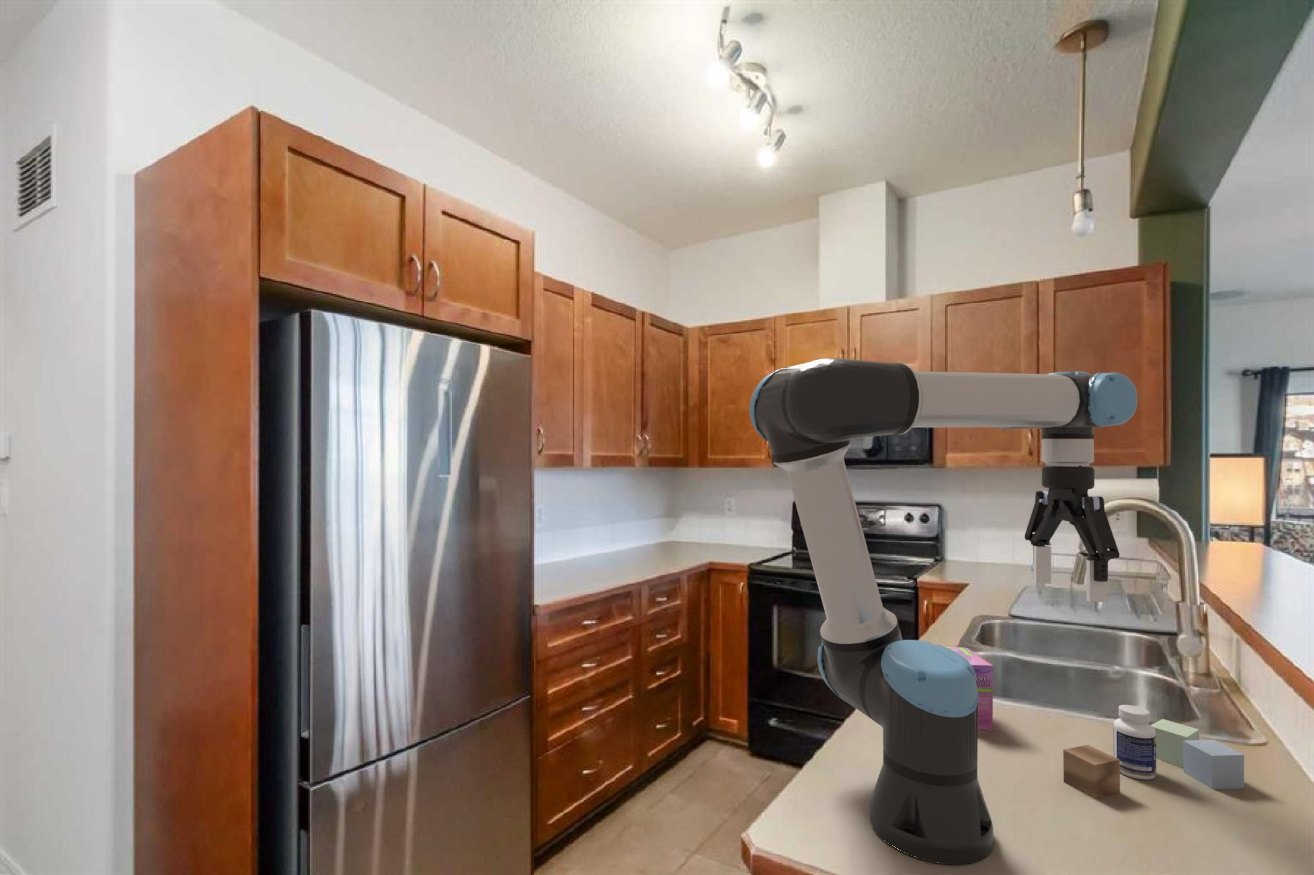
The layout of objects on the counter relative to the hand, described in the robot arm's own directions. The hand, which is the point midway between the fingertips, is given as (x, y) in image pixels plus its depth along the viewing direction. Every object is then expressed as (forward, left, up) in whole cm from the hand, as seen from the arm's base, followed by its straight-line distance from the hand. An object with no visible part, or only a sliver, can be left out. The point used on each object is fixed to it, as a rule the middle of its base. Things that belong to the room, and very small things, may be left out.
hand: (1067, 592), depth 110 cm
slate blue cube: (+15, -10, -27) cm, 32 cm away
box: (-11, +14, -27) cm, 32 cm away
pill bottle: (+5, -7, -27) cm, 28 cm away
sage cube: (+15, -3, -27) cm, 31 cm away
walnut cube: (-5, -11, -27) cm, 29 cm away
